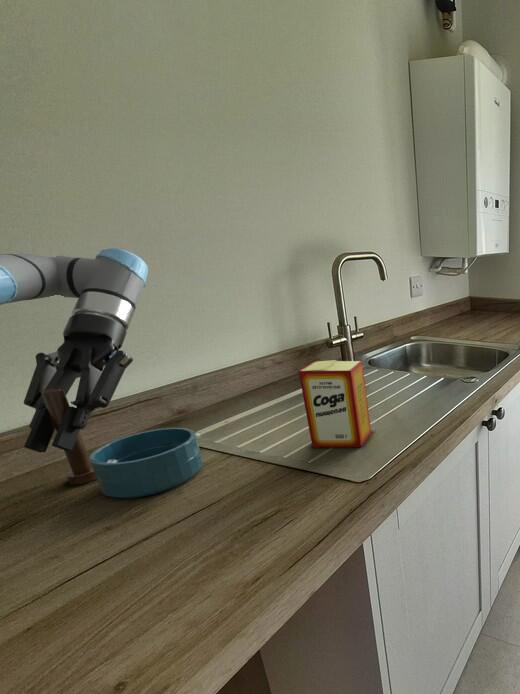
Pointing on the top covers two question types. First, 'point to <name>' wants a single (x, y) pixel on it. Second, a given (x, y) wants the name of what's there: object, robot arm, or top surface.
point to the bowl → (146, 462)
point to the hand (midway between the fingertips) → (48, 448)
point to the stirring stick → (78, 455)
